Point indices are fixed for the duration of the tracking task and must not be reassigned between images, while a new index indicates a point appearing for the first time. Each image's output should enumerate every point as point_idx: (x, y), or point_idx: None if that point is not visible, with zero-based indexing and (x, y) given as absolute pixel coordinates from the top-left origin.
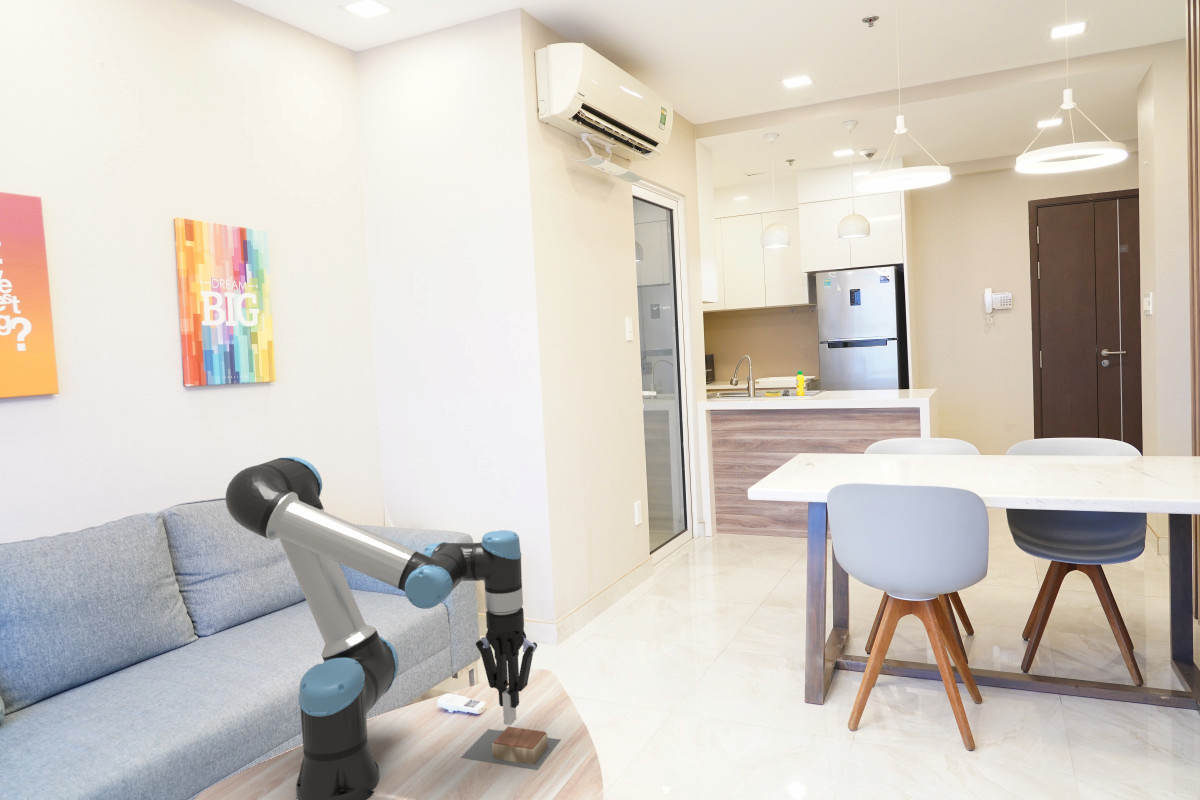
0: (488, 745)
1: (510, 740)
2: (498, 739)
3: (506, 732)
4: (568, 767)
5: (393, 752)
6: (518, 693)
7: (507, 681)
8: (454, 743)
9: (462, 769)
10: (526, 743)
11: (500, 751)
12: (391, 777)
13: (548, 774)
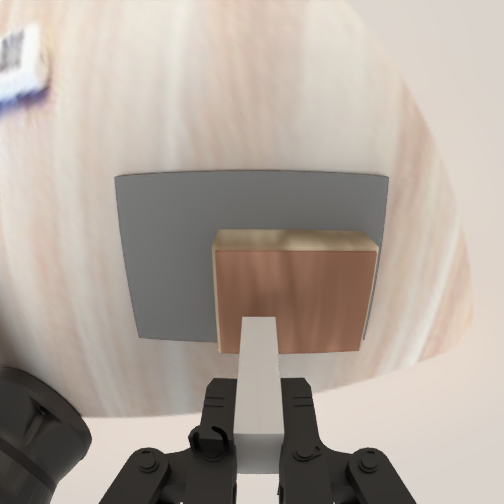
0: (171, 270)
1: None
2: (228, 338)
3: (232, 294)
4: (426, 287)
5: (9, 320)
6: (316, 428)
7: (232, 476)
8: (73, 260)
9: (168, 357)
10: (332, 336)
11: None
12: (70, 390)
13: (386, 326)
